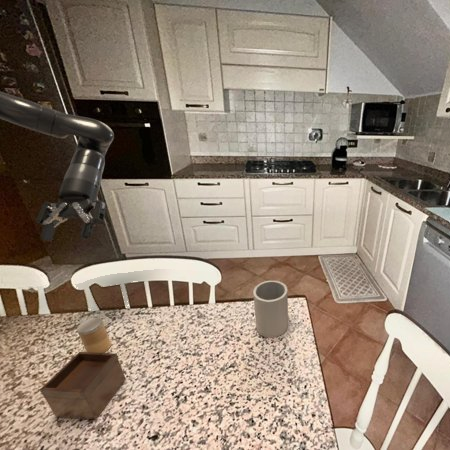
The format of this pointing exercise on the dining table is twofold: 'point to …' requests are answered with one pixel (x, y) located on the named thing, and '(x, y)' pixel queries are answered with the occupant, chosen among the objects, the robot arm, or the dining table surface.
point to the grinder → (94, 335)
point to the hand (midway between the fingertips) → (65, 239)
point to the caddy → (84, 385)
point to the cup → (271, 308)
